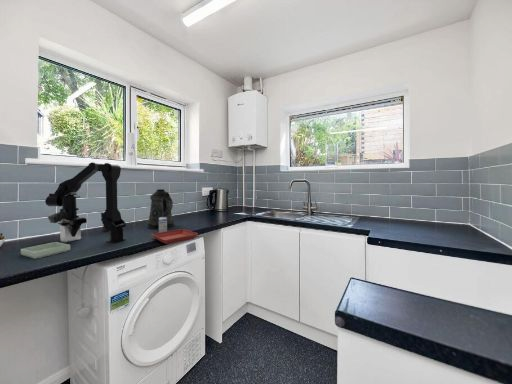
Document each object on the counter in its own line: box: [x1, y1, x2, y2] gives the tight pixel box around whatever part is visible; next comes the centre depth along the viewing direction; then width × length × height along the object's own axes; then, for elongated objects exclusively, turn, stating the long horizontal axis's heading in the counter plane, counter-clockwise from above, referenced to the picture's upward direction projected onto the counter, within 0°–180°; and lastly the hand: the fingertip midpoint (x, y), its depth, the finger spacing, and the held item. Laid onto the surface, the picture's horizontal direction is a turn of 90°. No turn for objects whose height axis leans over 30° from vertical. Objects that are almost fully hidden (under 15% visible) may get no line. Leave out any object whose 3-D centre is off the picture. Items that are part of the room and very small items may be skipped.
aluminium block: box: [59, 225, 82, 243], centre depth 117 cm, size 4×7×8 cm, turn 155°
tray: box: [20, 241, 71, 260], centre depth 97 cm, size 12×12×2 cm
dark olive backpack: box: [146, 188, 175, 230], centre depth 151 cm, size 16×19×25 cm
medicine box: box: [158, 217, 168, 233], centre depth 134 cm, size 8×4×9 cm, turn 23°
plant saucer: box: [151, 228, 199, 245], centre depth 119 cm, size 18×18×3 cm
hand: (70, 236), depth 118 cm, fingers closed on aluminium block, 4 cm apart
